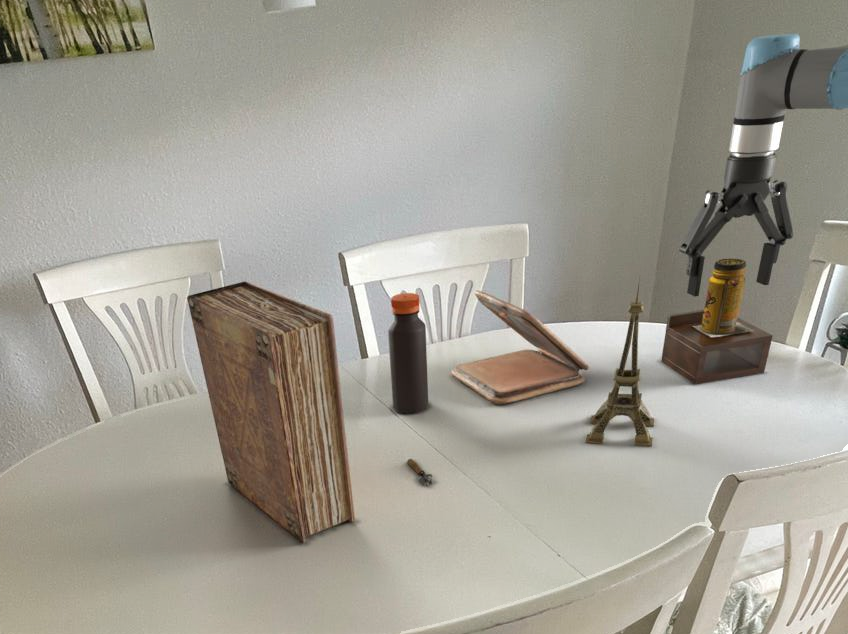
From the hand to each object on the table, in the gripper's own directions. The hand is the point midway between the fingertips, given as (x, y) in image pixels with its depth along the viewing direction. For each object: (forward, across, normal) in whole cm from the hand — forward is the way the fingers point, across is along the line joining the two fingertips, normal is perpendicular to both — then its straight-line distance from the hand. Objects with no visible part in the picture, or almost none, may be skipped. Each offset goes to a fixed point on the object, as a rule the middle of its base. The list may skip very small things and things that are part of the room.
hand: (727, 289), depth 142 cm
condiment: (+8, -1, 0) cm, 8 cm away
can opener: (+15, +64, +23) cm, 70 cm away
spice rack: (+14, 0, 0) cm, 14 cm away
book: (+14, +86, +25) cm, 91 cm away
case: (+14, +36, -9) cm, 40 cm away
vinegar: (+14, +59, -4) cm, 61 cm away
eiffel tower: (+15, +28, +20) cm, 37 cm away
